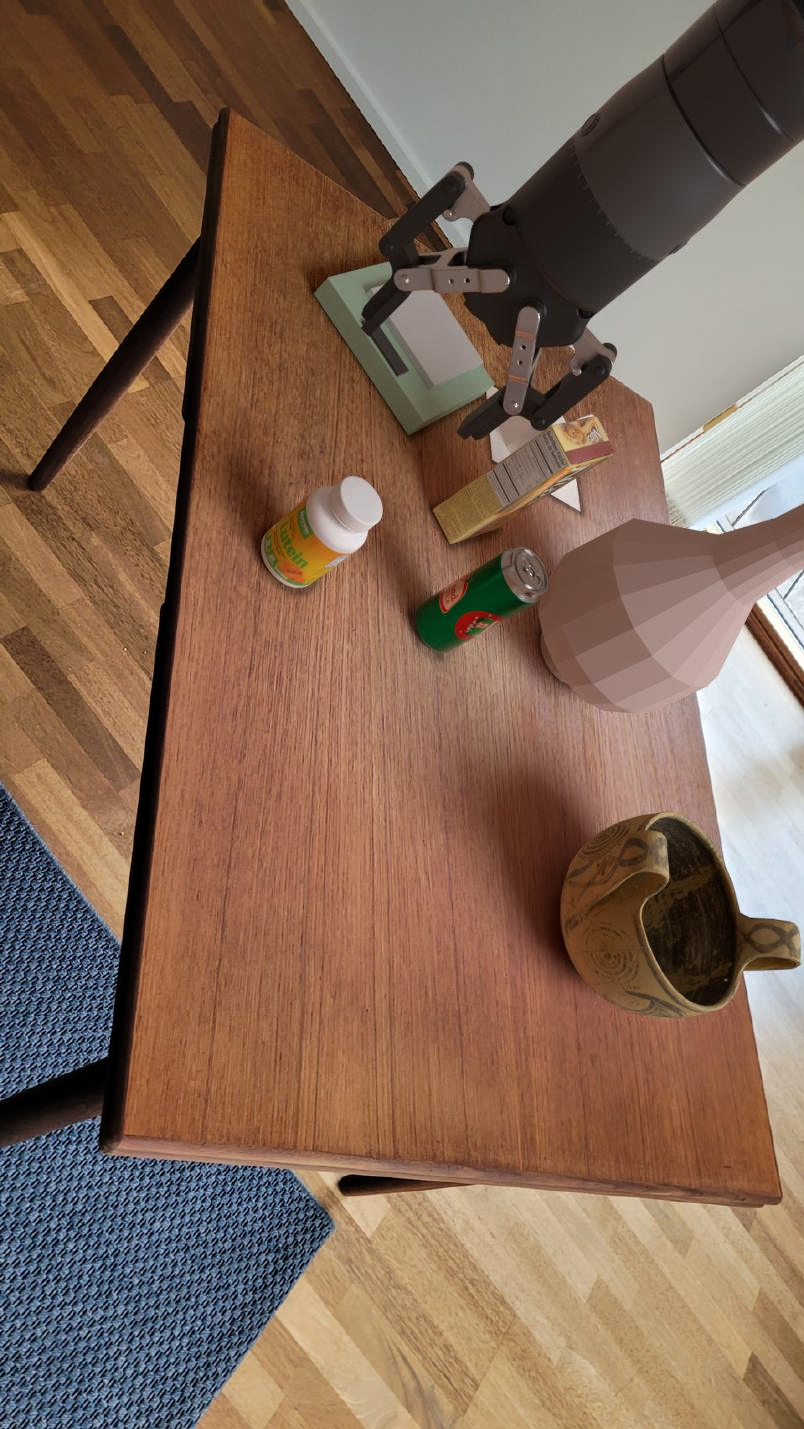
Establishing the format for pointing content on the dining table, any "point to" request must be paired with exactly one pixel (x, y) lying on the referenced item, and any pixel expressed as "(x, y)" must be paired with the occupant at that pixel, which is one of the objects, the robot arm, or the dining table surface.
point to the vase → (659, 607)
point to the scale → (407, 348)
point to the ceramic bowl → (664, 920)
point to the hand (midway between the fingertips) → (416, 379)
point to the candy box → (524, 478)
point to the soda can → (481, 599)
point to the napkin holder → (517, 435)
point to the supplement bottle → (321, 531)
